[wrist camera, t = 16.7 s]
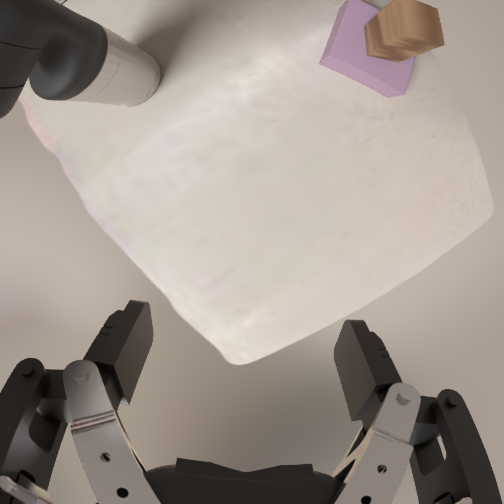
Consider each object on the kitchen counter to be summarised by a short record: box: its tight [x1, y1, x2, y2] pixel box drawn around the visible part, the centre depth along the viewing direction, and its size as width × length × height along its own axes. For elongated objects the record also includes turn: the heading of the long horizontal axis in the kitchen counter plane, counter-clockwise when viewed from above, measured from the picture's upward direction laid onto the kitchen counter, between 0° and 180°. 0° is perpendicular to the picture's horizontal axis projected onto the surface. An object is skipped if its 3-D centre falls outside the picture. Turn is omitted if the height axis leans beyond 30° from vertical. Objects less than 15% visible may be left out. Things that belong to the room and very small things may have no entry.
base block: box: [320, 0, 415, 97], centre depth 29 cm, size 12×12×6 cm
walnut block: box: [364, 0, 444, 63], centre depth 21 cm, size 5×5×12 cm
